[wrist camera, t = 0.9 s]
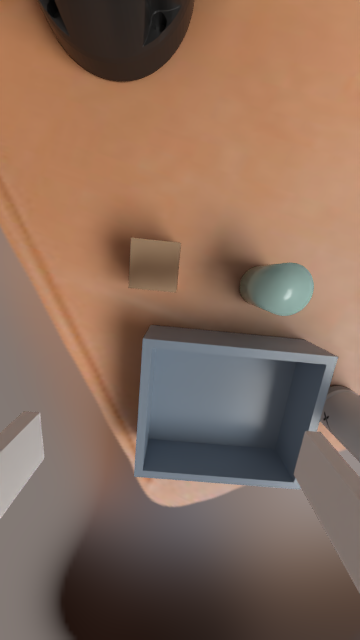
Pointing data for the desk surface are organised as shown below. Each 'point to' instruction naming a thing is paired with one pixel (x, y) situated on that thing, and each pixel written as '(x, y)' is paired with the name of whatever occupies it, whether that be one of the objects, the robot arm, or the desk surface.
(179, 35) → the robot arm
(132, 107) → the desk surface
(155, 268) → the walnut cube
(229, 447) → the tote
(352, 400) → the travel mug
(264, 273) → the teal cylinder
